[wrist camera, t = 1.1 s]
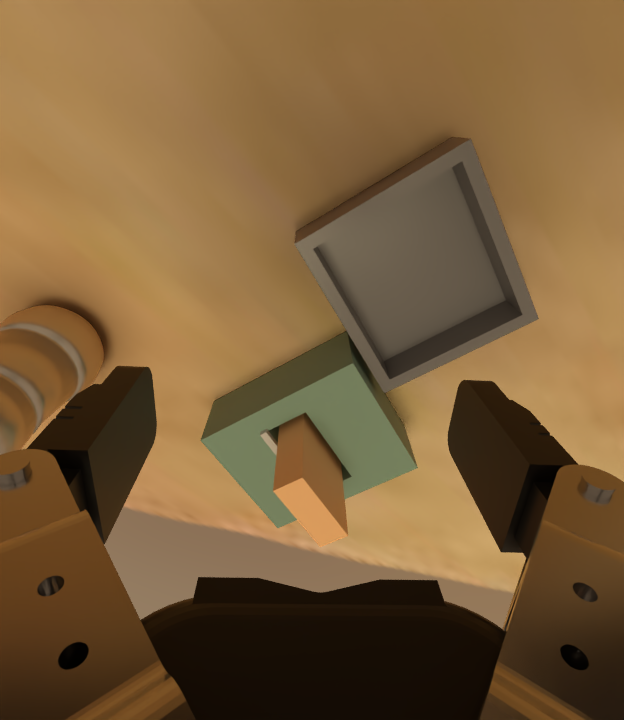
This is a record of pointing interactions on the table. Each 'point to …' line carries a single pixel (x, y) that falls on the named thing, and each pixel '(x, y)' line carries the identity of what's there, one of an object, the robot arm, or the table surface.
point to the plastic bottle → (42, 368)
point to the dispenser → (326, 410)
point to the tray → (419, 266)
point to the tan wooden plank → (310, 480)
